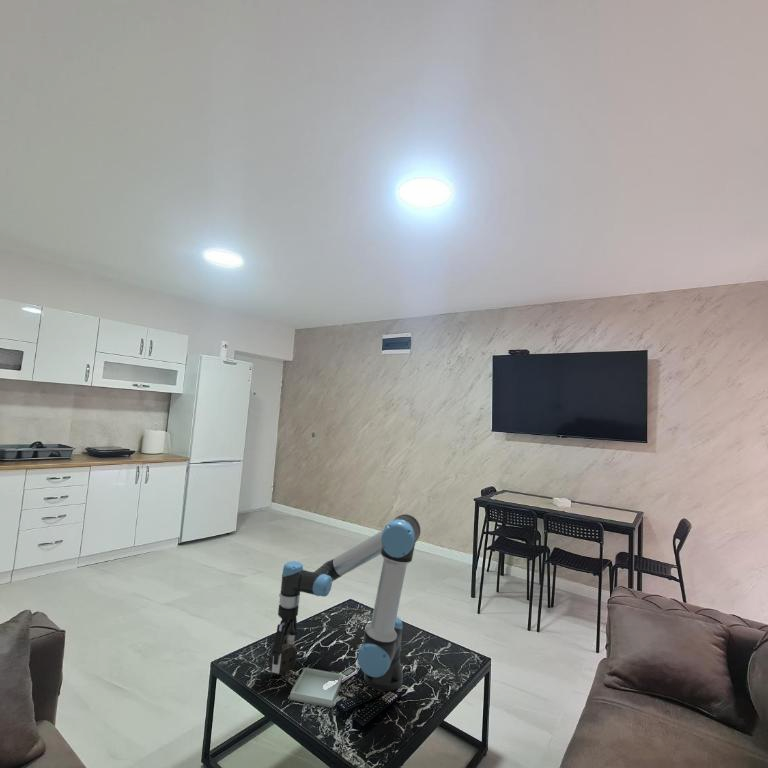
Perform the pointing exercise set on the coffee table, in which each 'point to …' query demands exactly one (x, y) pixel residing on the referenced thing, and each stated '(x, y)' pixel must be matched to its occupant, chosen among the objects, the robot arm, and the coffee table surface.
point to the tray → (316, 687)
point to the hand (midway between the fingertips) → (282, 662)
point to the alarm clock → (285, 657)
